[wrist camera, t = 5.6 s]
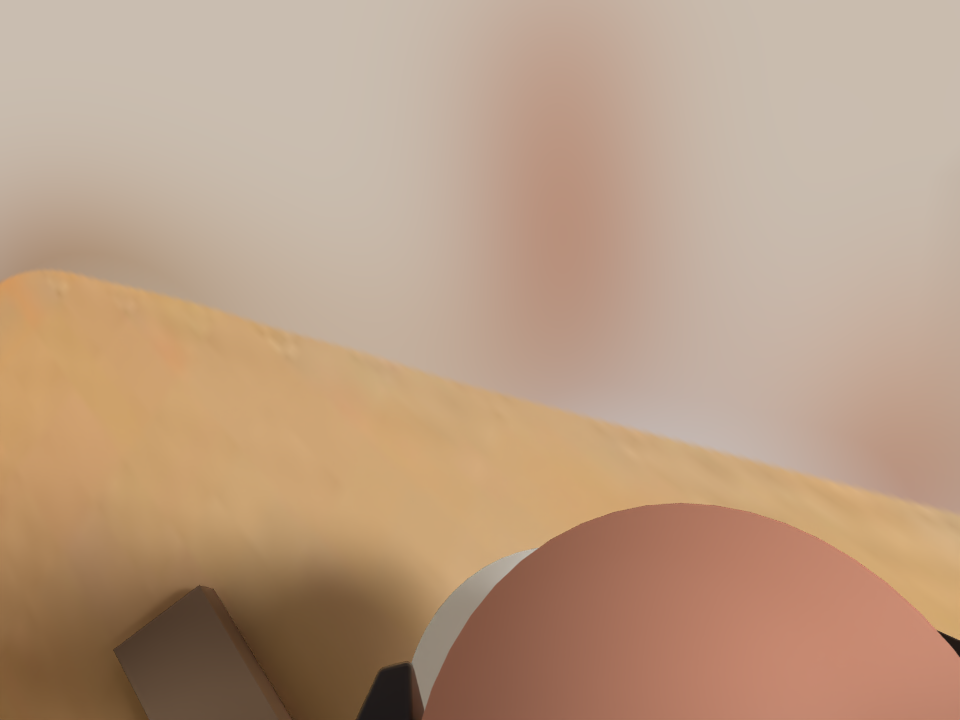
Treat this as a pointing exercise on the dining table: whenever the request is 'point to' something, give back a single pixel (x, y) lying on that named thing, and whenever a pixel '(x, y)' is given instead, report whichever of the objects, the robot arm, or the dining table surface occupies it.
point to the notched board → (197, 666)
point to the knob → (683, 629)
